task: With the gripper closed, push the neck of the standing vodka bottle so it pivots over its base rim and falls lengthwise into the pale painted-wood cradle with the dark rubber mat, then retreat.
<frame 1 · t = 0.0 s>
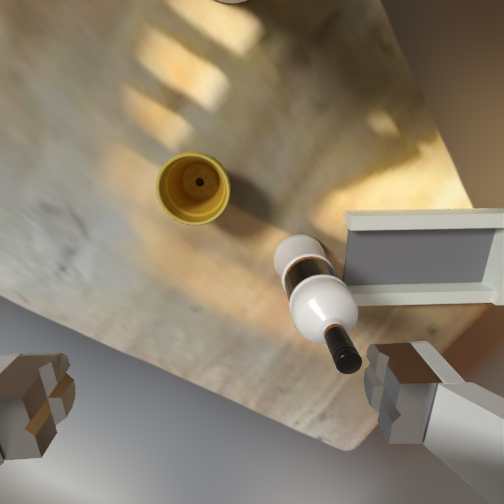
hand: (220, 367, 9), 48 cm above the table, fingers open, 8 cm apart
plant pot: (201, 181, 54), on the table
vodka: (297, 256, 60), on the table
cradle: (414, 254, 60), on the table
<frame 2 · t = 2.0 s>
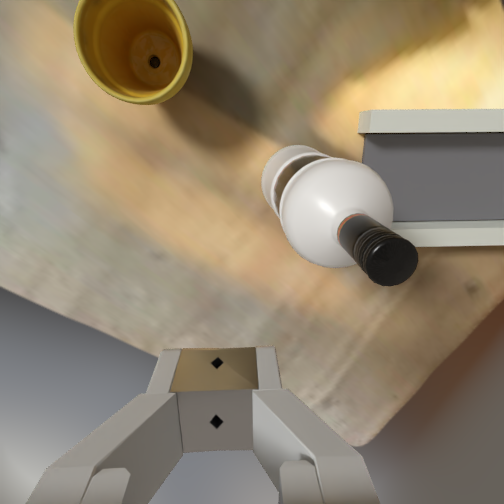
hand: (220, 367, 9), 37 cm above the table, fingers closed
plant pot: (157, 63, 38), on the table
vodka: (294, 180, 44), on the table
cradle: (453, 178, 44), on the table
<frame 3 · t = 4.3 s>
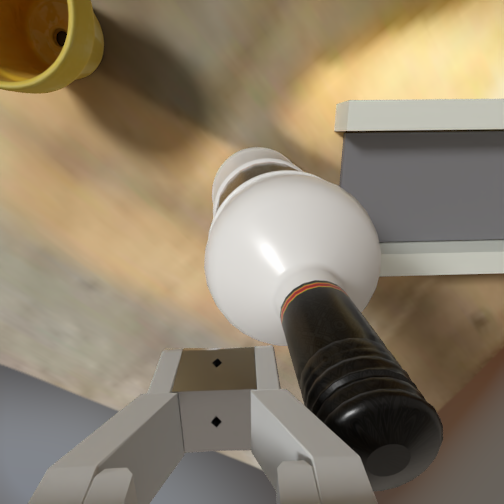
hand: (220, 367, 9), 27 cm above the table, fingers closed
plant pot: (68, 40, 29), on the table
vodka: (256, 191, 34), on the table, touching gripper
cradle: (456, 188, 35), on the table
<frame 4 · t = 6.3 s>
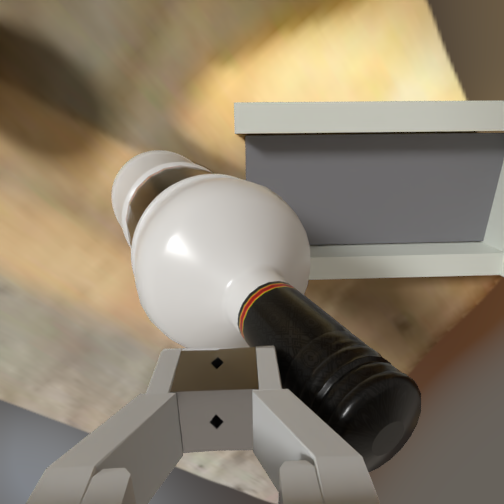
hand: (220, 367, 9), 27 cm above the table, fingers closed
vodka: (160, 197, 33), point 1 cm above the table
cradle: (366, 191, 35), on the table
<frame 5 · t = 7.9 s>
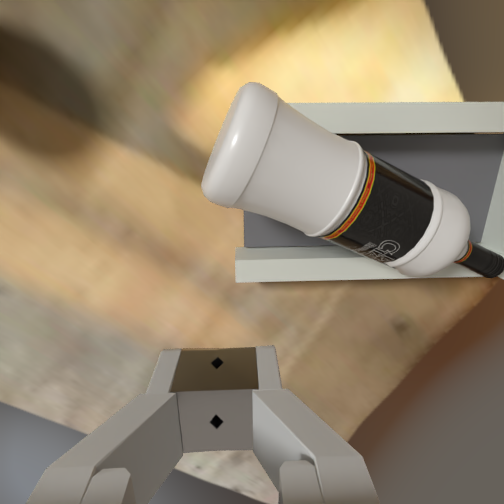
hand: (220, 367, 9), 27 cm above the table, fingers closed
vodka: (217, 137, 24), point 9 cm above the table, touching cradle
cradle: (363, 192, 35), on the table
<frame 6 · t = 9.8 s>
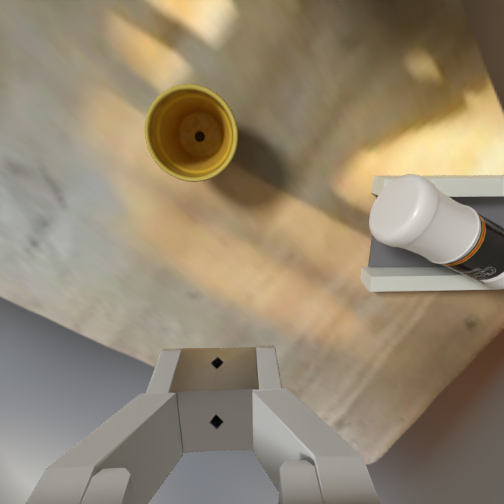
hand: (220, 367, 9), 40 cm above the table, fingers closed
plant pot: (201, 136, 45), on the table
vodka: (390, 205, 40), point 9 cm above the table, touching cradle
cradle: (453, 230, 51), on the table
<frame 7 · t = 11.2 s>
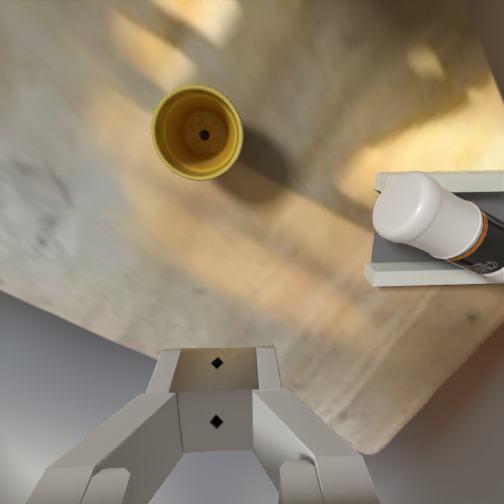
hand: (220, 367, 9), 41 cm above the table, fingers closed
plant pot: (206, 134, 45), on the table
vodka: (393, 201, 41), point 9 cm above the table, touching cradle
cradle: (455, 225, 51), on the table
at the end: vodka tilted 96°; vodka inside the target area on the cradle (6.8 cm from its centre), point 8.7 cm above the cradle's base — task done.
